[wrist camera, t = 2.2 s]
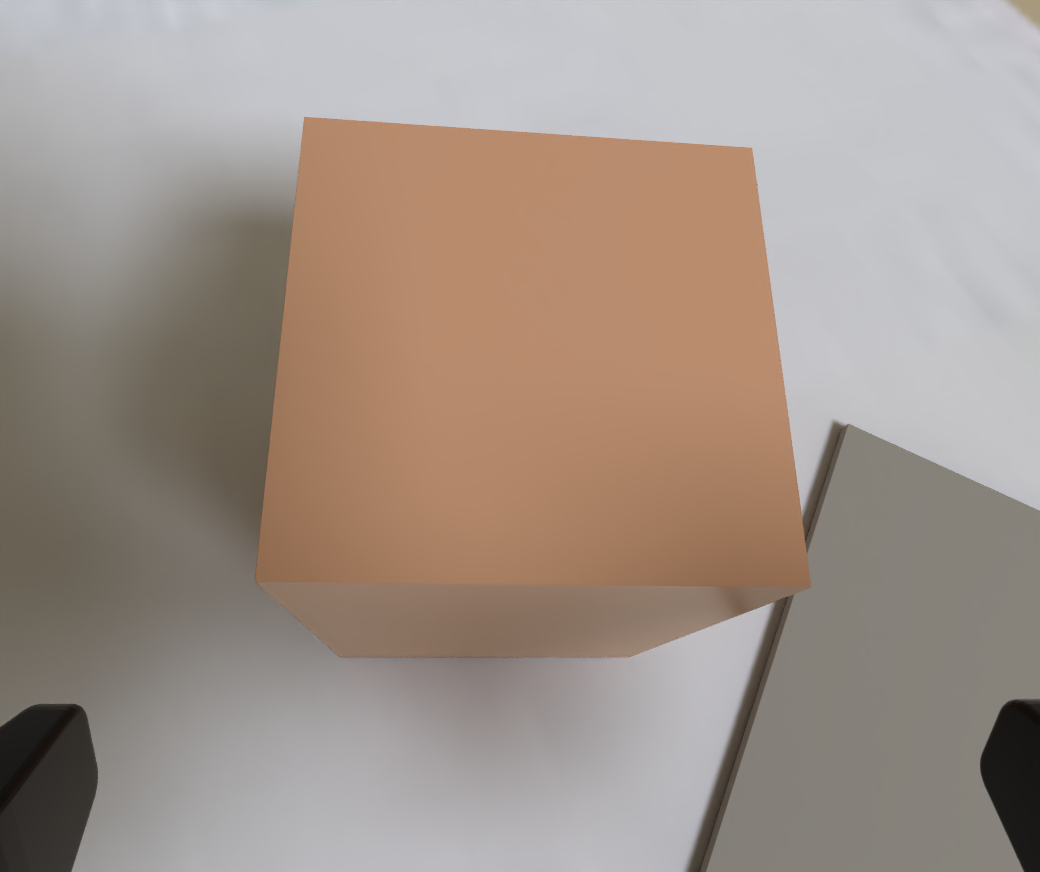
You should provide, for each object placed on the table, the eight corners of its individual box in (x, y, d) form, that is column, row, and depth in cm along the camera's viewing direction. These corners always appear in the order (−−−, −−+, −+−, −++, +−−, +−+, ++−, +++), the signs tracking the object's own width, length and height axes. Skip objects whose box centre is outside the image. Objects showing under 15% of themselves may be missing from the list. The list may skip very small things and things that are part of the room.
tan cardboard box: (629, 657, 20) (811, 587, 10) (339, 657, 19) (254, 581, 10) (615, 395, 22) (752, 148, 13) (357, 386, 21) (304, 116, 12)
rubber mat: (1283, 1271, 17) (1302, 1283, 16) (670, 964, 17) (675, 969, 17) (1318, 646, 22) (1334, 644, 21) (841, 429, 22) (848, 423, 22)
